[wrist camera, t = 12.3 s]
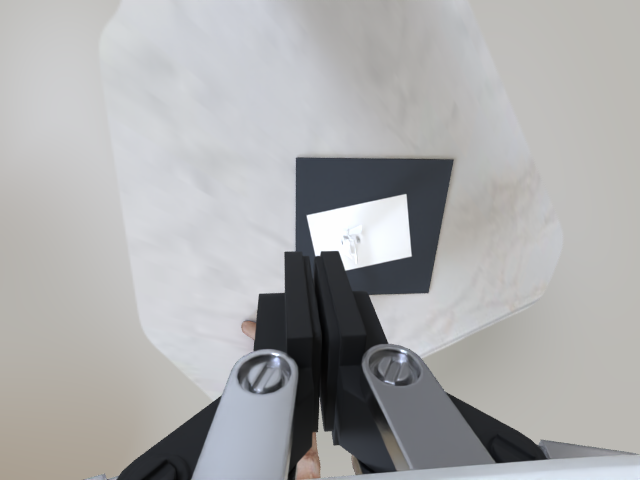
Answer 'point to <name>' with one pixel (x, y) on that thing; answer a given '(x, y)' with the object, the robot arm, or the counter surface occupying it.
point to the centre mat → (370, 185)
